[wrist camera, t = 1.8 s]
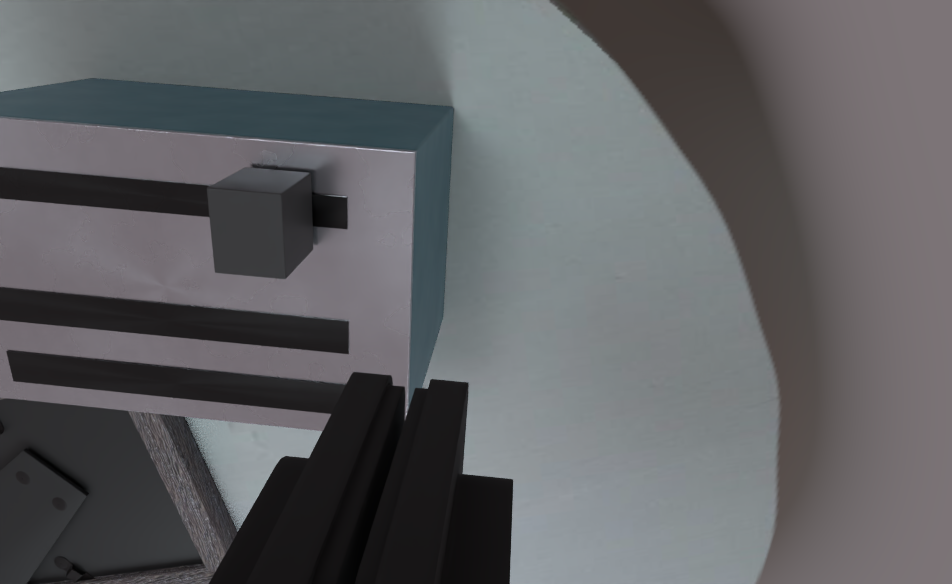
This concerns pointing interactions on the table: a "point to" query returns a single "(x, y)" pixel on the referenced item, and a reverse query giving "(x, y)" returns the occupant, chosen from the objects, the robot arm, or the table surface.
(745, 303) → the table surface
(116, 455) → the picture frame
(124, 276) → the toaster
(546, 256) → the table surface
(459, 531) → the robot arm
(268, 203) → the block
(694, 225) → the table surface
